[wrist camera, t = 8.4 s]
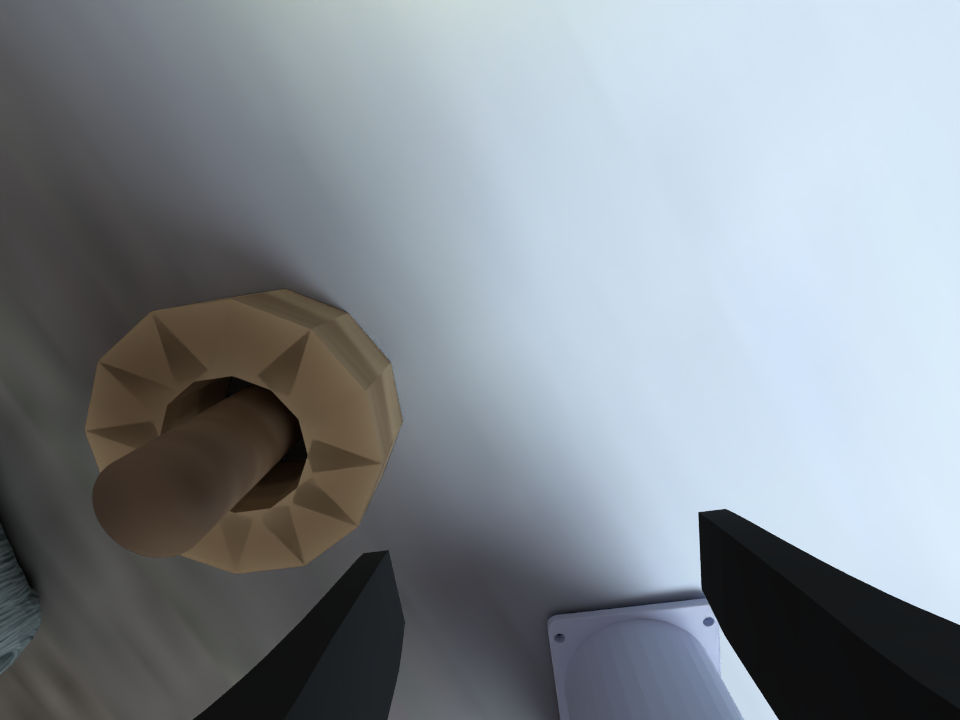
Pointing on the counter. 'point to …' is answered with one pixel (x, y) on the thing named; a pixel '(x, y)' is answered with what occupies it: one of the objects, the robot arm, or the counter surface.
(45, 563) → the counter surface
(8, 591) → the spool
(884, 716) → the robot arm
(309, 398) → the bead
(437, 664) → the counter surface
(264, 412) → the peg
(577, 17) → the counter surface
